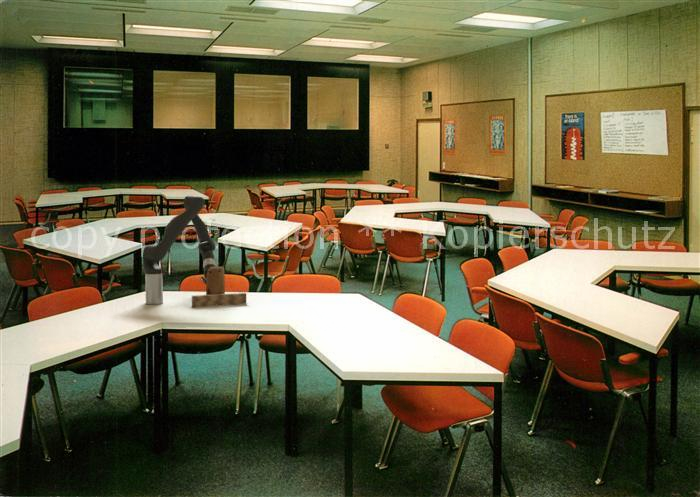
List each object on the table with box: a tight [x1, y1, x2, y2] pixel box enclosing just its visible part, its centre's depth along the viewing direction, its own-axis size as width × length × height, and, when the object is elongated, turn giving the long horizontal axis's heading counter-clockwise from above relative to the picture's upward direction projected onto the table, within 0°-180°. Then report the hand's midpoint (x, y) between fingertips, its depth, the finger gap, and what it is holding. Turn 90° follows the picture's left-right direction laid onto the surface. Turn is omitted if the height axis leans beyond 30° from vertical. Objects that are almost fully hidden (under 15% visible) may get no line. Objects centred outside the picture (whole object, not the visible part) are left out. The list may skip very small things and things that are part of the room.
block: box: [205, 265, 226, 295], centre depth 344 cm, size 11×8×20 cm
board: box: [191, 292, 247, 308], centre depth 331 cm, size 30×3×6 cm, turn 111°
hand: (212, 289), depth 353 cm, fingers closed
